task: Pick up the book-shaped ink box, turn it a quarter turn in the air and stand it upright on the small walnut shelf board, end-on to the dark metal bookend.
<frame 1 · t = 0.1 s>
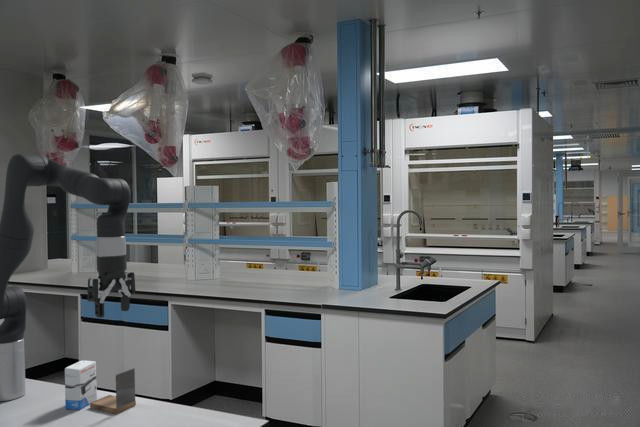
hand: (112, 313, 149), 29 cm above the countertop, tool pointing down, fingers open, 8 cm apart
ink box: (81, 405, 162), on the countertop
shelf board: (113, 406, 160), on the countertop
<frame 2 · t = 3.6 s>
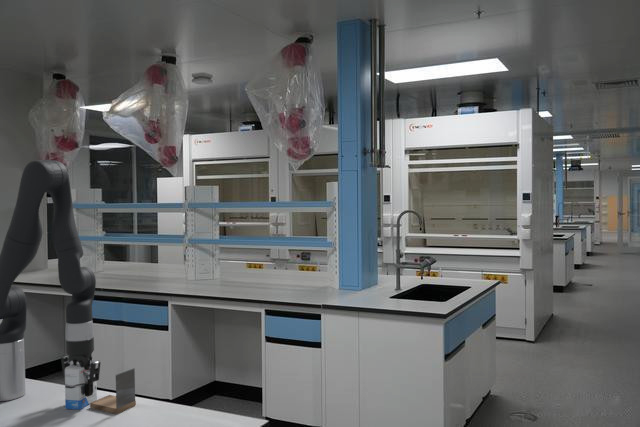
hand: (81, 393, 162), 3 cm above the countertop, tool pointing down, fingers closed on ink box, 5 cm apart
ink box: (81, 404, 162), on the countertop, touching gripper
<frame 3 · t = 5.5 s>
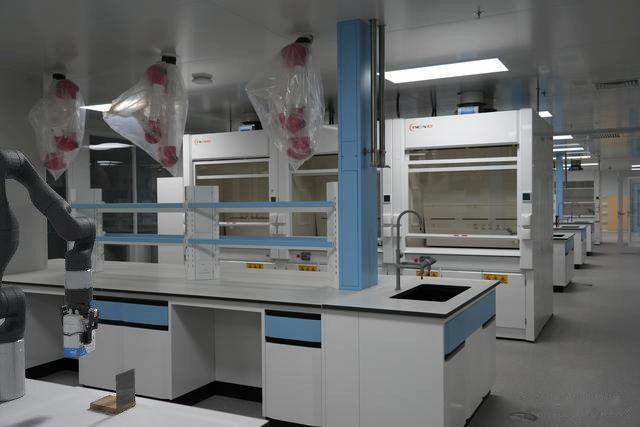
hand: (79, 342, 162), 18 cm above the countertop, tool pointing down, fingers closed on ink box, 5 cm apart
ink box: (80, 354, 162), point 15 cm above the countertop, touching gripper
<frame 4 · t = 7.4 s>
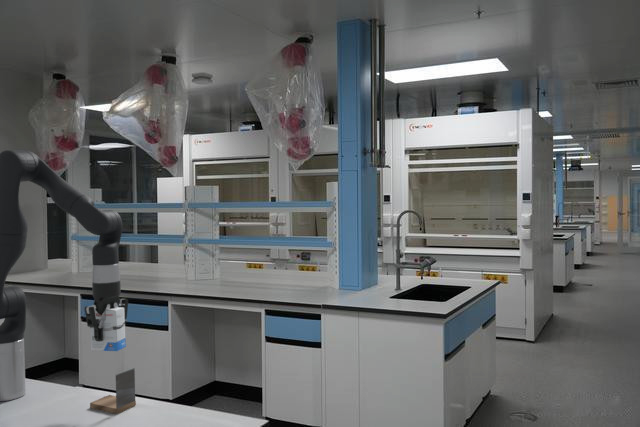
hand: (108, 338, 160), 20 cm above the countertop, tool pointing down, fingers closed on ink box, 5 cm apart
ink box: (108, 349, 160), point 17 cm above the countertop, touching gripper
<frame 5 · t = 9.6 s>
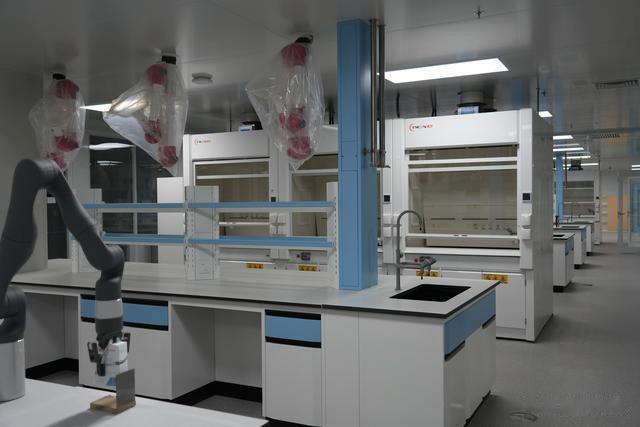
hand: (110, 372, 160), 10 cm above the countertop, tool pointing down, fingers closed on ink box, 5 cm apart
ink box: (110, 383, 160), point 7 cm above the countertop, touching gripper
when the fingers open (6 cm above the countertop, at t = 11.3 s): ink box drops 1 cm, resting on shelf board.
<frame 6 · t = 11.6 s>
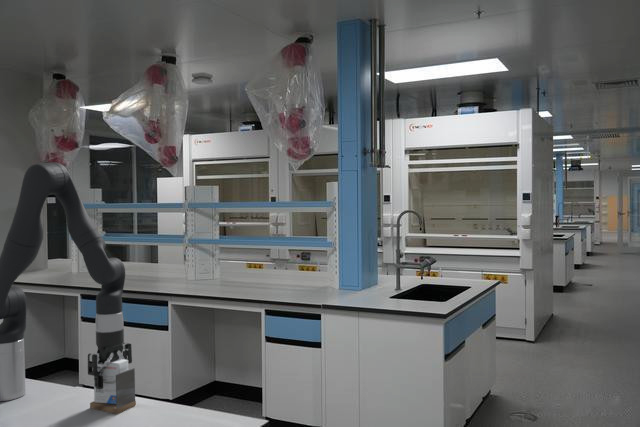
hand: (111, 384, 160), 7 cm above the countertop, tool pointing down, fingers open, 8 cm apart
ink box: (111, 401, 160), point 1 cm above the countertop, touching shelf board
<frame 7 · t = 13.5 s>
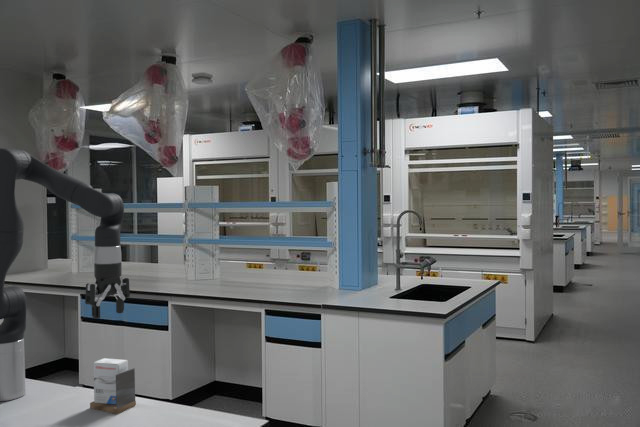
hand: (108, 315, 164), 25 cm above the countertop, tool pointing down, fingers open, 8 cm apart
nothing on the countertop moved.
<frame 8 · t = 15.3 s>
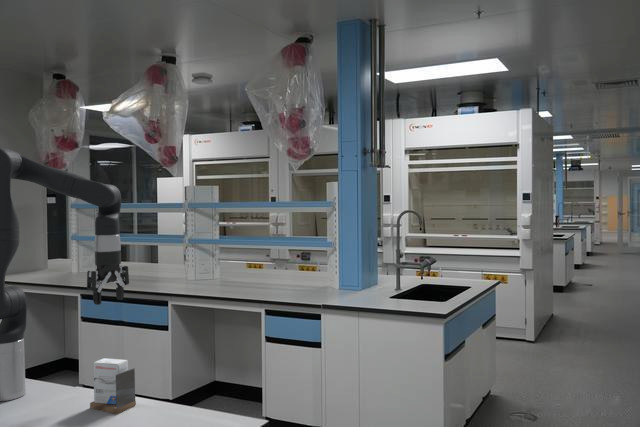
hand: (109, 301, 171), 28 cm above the countertop, tool pointing down, fingers open, 8 cm apart
nothing on the countertop moved.
at the end: ink box 0.5 cm off-centre on the shelf board, point 1.3 cm above the shelf board's base; ink box tilted 0°; the gripper is holding nothing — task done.
